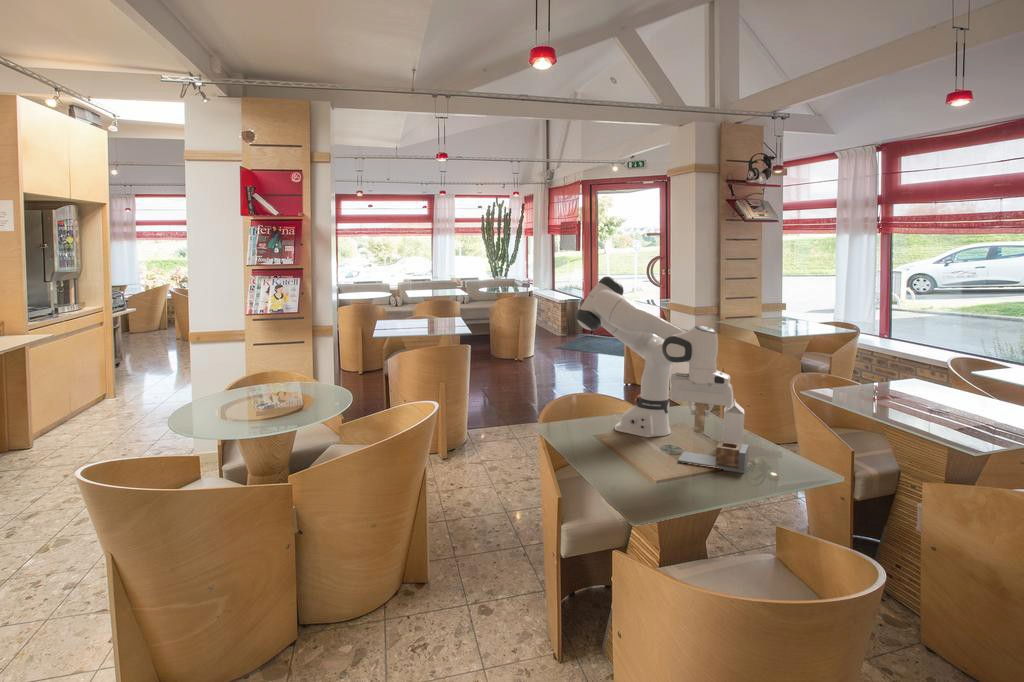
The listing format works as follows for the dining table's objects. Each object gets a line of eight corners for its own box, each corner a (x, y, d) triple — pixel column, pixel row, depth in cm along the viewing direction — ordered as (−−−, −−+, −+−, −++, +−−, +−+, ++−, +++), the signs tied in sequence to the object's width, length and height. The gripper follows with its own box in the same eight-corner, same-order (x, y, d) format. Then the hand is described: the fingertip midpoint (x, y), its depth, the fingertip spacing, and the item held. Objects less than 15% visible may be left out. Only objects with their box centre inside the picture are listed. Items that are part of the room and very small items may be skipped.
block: (715, 463, 214) (716, 447, 213) (719, 457, 220) (720, 441, 219) (738, 467, 210) (739, 450, 209) (741, 460, 217) (742, 444, 216)
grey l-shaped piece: (677, 462, 218) (678, 443, 217) (683, 454, 227) (684, 435, 226) (743, 473, 209) (745, 453, 207) (747, 464, 217) (748, 444, 216)
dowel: (693, 432, 208) (695, 397, 207) (695, 429, 211) (696, 395, 209) (703, 433, 207) (705, 398, 205) (704, 431, 210) (706, 396, 208)
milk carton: (741, 448, 235) (744, 399, 232) (741, 453, 228) (745, 403, 225) (721, 445, 237) (724, 397, 234) (721, 451, 230) (724, 402, 227)
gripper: (668, 373, 208) (666, 413, 210) (733, 380, 199) (730, 421, 201) (672, 370, 213) (670, 409, 216) (735, 376, 205) (732, 417, 207)
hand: (700, 415), depth 208 cm, fingers closed on dowel, 3 cm apart
